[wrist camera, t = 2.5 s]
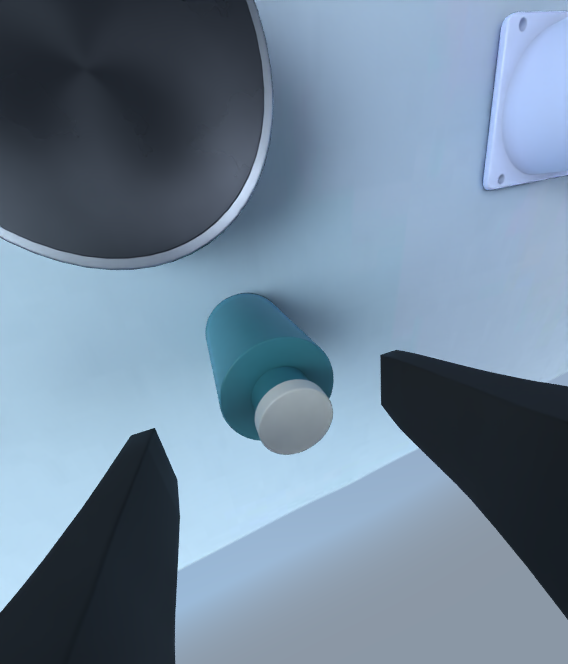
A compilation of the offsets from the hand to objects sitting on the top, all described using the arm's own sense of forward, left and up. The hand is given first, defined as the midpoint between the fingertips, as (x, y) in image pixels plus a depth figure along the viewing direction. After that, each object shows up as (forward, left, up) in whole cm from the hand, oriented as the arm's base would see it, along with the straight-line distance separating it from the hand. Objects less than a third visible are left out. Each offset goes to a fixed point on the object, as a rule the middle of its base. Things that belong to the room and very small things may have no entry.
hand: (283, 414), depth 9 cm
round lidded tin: (+3, -10, -8) cm, 13 cm away
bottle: (0, 0, -8) cm, 8 cm away
